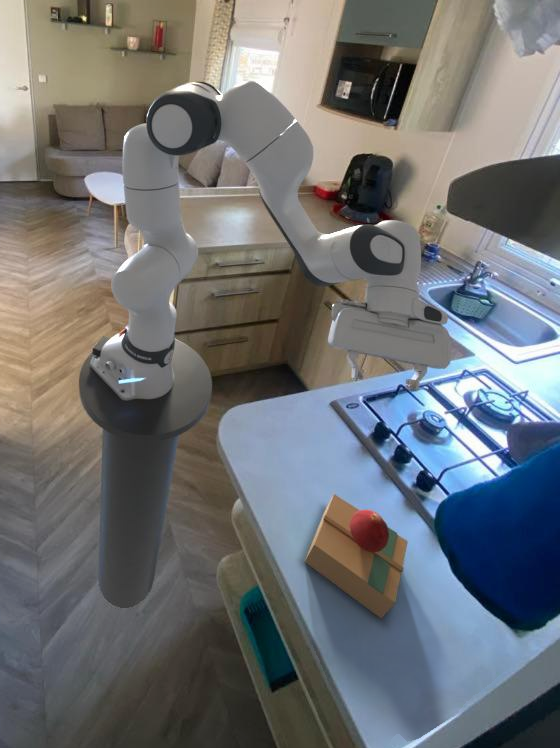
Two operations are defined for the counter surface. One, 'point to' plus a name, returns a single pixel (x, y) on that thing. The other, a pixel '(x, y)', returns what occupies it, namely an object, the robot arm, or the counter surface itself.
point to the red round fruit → (369, 530)
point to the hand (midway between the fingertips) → (384, 384)
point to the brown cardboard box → (356, 559)
